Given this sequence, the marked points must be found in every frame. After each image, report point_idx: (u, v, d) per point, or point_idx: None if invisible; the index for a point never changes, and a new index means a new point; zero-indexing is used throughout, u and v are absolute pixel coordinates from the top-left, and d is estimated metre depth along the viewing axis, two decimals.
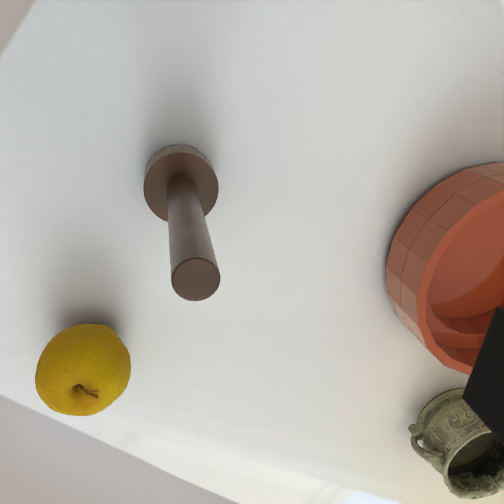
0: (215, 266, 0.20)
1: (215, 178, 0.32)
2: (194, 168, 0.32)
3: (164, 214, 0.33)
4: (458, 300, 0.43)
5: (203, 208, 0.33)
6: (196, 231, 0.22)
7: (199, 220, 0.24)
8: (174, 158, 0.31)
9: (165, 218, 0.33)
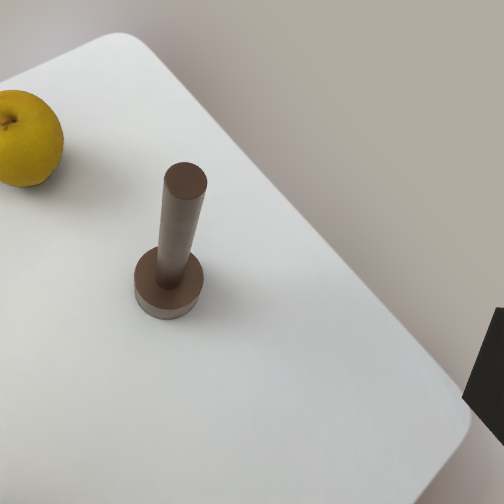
0: (194, 198, 0.22)
1: (172, 308, 0.34)
2: (185, 291, 0.35)
3: (149, 256, 0.35)
4: None
5: (145, 291, 0.34)
6: (198, 218, 0.25)
7: (191, 237, 0.27)
8: (198, 277, 0.35)
9: (145, 256, 0.35)
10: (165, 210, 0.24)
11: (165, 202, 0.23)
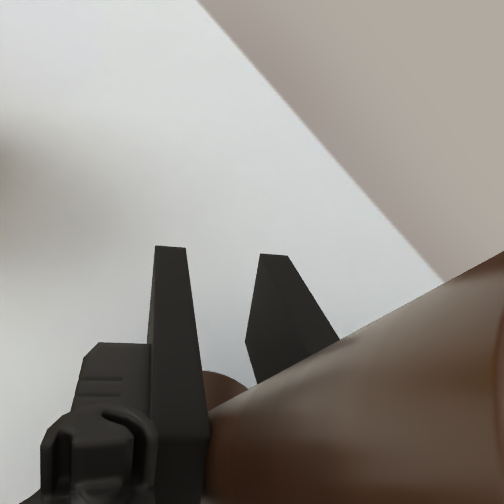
0: None
1: None
2: None
3: None
4: None
5: None
6: None
7: None
8: None
9: None
10: None
11: None
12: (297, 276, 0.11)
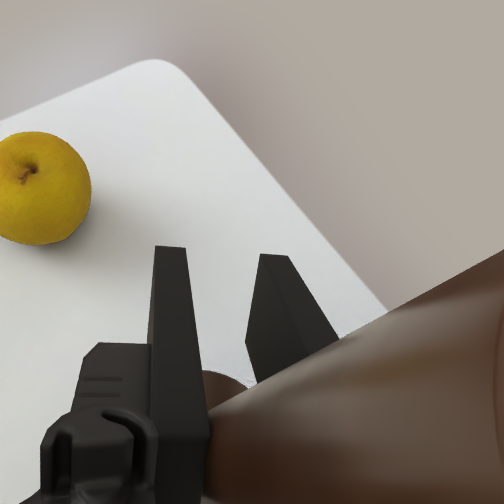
0: None
1: None
2: None
3: None
4: None
5: None
6: None
7: None
8: None
9: None
10: None
11: None
12: (297, 276, 0.11)
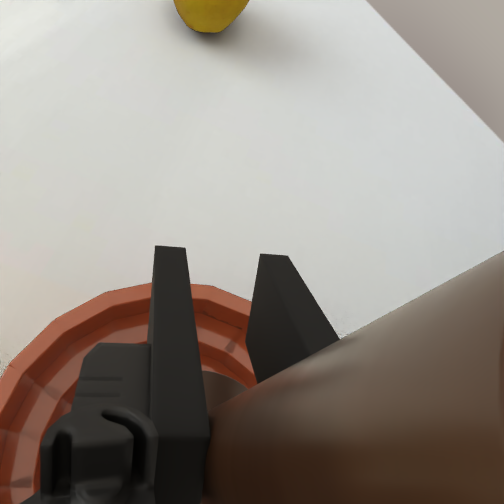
0: None
1: None
2: None
3: None
4: None
5: None
6: None
7: None
8: None
9: None
10: None
11: None
12: (297, 276, 0.11)
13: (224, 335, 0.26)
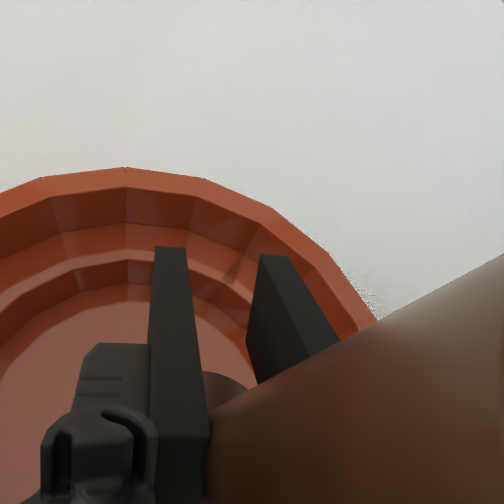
0: None
1: None
2: None
3: None
4: (31, 388, 0.18)
5: None
6: None
7: None
8: None
9: None
10: None
11: None
12: (297, 276, 0.11)
13: (221, 260, 0.19)
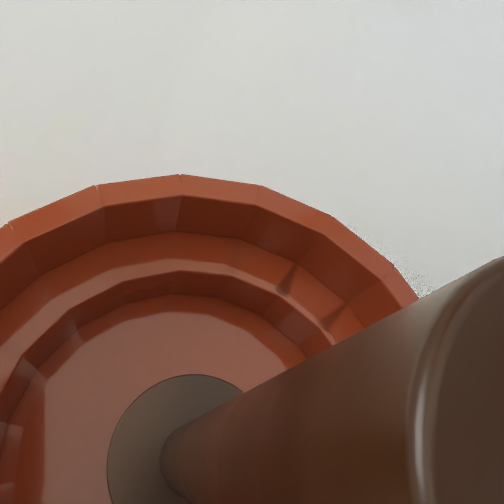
0: None
1: None
2: None
3: (148, 404, 0.15)
4: (76, 407, 0.17)
5: (133, 503, 0.14)
6: None
7: None
8: None
9: (137, 404, 0.15)
10: None
11: None
12: None
13: (273, 270, 0.18)
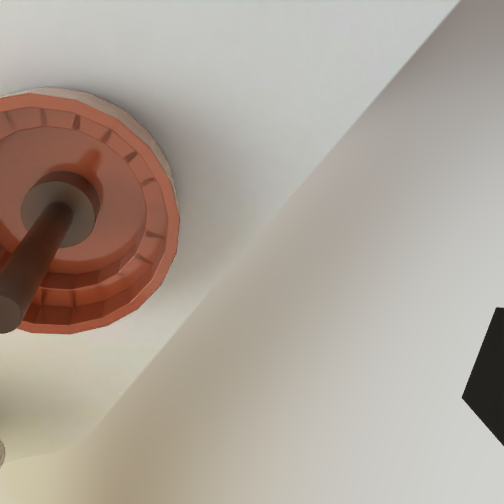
0: (14, 328, 0.22)
1: (72, 245, 0.35)
2: (80, 226, 0.34)
3: (29, 199, 0.33)
4: (6, 193, 0.36)
5: None
6: (38, 287, 0.24)
7: None
8: (88, 209, 0.34)
9: (25, 200, 0.33)
10: None
11: None
12: None
13: (67, 116, 0.32)
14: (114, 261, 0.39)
